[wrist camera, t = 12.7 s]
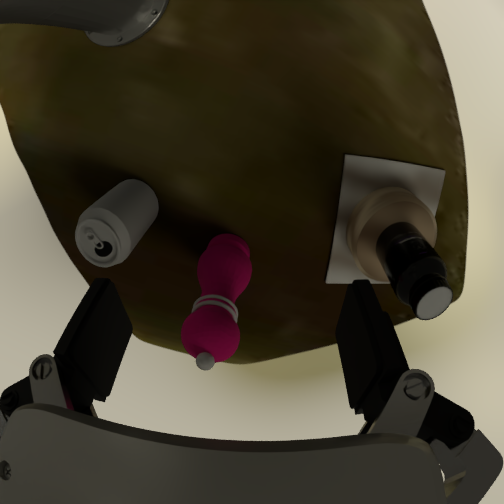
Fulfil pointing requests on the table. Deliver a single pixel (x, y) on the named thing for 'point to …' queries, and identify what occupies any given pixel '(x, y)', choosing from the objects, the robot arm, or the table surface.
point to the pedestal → (379, 212)
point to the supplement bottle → (414, 270)
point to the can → (116, 223)
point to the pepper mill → (217, 301)
